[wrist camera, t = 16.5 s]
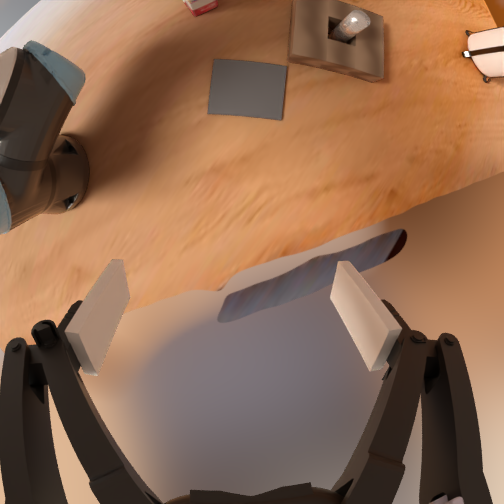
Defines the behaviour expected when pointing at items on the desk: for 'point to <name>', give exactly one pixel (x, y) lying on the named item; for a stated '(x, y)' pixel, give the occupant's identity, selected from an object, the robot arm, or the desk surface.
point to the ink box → (200, 6)
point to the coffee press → (487, 52)
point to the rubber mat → (247, 89)
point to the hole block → (330, 51)
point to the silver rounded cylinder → (350, 26)
